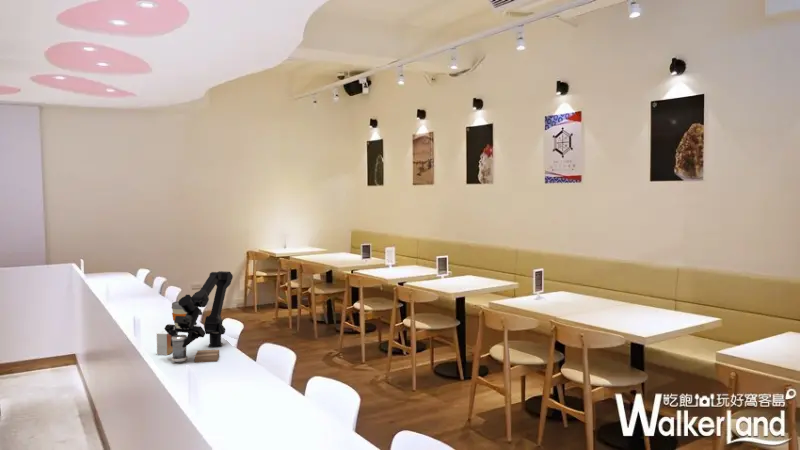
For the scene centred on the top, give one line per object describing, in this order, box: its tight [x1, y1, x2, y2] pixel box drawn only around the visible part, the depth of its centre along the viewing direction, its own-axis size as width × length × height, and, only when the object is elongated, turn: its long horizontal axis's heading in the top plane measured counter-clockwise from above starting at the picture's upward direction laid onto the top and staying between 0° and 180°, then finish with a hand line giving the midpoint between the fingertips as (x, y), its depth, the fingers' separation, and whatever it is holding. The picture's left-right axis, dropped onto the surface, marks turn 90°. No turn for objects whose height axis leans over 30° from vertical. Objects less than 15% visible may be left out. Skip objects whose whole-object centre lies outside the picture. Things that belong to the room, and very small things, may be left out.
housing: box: [171, 334, 188, 363], centre depth 274 cm, size 7×7×11 cm
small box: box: [156, 329, 173, 356], centre depth 290 cm, size 8×6×10 cm
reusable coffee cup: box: [171, 300, 187, 328], centre depth 343 cm, size 13×13×15 cm
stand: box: [194, 349, 220, 363], centre depth 279 cm, size 10×10×3 cm
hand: (177, 346), depth 272 cm, fingers closed on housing, 6 cm apart
